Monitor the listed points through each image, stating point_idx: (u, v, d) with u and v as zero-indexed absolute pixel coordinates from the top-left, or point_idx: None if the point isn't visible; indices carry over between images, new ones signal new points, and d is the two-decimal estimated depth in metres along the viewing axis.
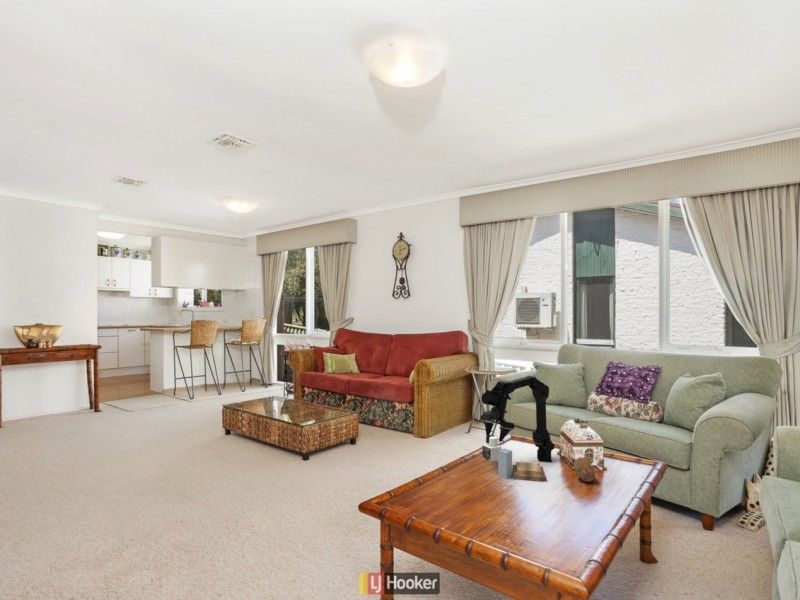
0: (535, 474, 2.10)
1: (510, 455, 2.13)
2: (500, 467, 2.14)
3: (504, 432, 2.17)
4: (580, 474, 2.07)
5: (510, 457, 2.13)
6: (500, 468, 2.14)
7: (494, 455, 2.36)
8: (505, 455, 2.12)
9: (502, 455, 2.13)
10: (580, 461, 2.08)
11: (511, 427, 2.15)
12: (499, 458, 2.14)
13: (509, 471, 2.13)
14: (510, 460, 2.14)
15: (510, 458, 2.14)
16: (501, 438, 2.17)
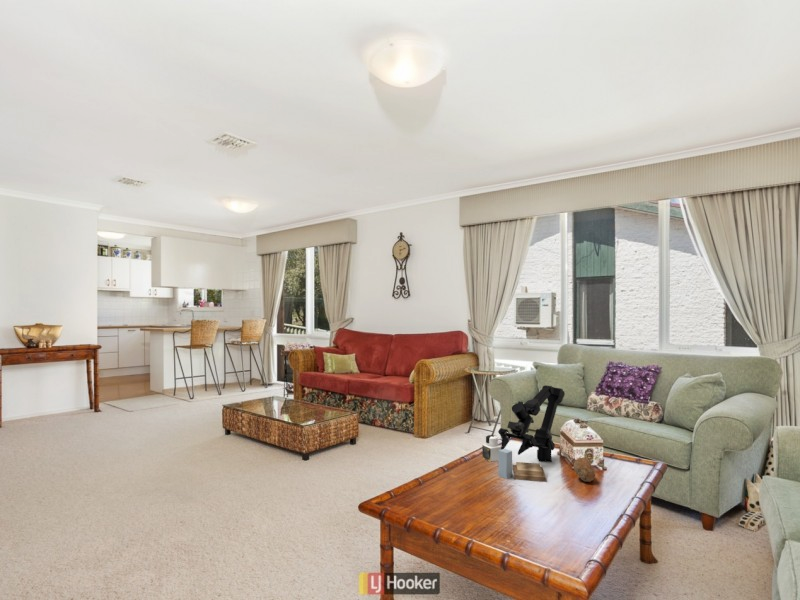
0: (535, 474, 2.10)
1: (510, 455, 2.13)
2: (500, 467, 2.14)
3: (524, 446, 2.15)
4: (580, 474, 2.07)
5: (510, 457, 2.13)
6: (500, 468, 2.14)
7: (494, 455, 2.36)
8: (505, 455, 2.12)
9: (502, 455, 2.13)
10: (580, 461, 2.08)
11: (534, 443, 2.15)
12: (499, 458, 2.14)
13: (509, 471, 2.13)
14: (510, 460, 2.14)
15: (510, 458, 2.14)
16: (520, 451, 2.14)
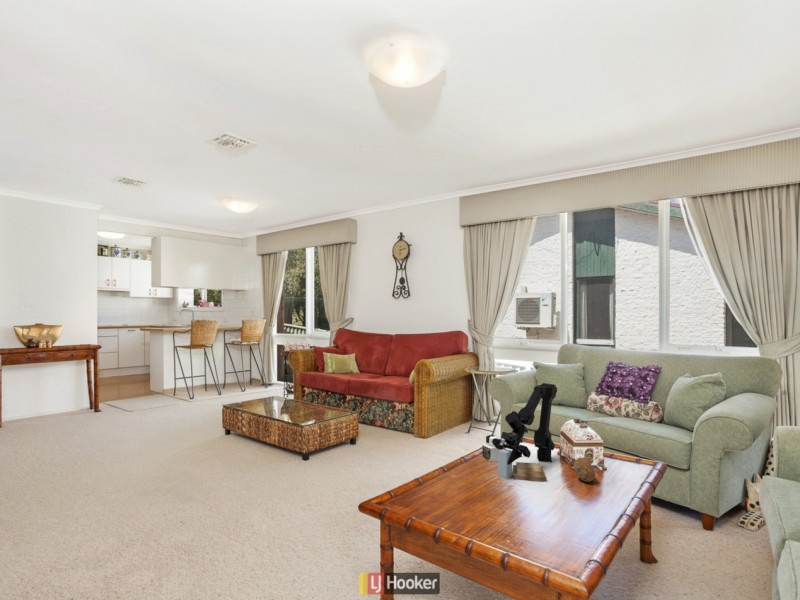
0: (535, 474, 2.10)
1: (510, 455, 2.13)
2: (500, 467, 2.14)
3: (514, 456, 2.13)
4: (580, 474, 2.07)
5: None
6: (500, 468, 2.14)
7: (494, 455, 2.36)
8: (505, 455, 2.12)
9: (502, 455, 2.13)
10: (580, 461, 2.08)
11: (528, 454, 2.11)
12: (499, 458, 2.14)
13: (509, 471, 2.13)
14: None
15: None
16: (510, 461, 2.12)
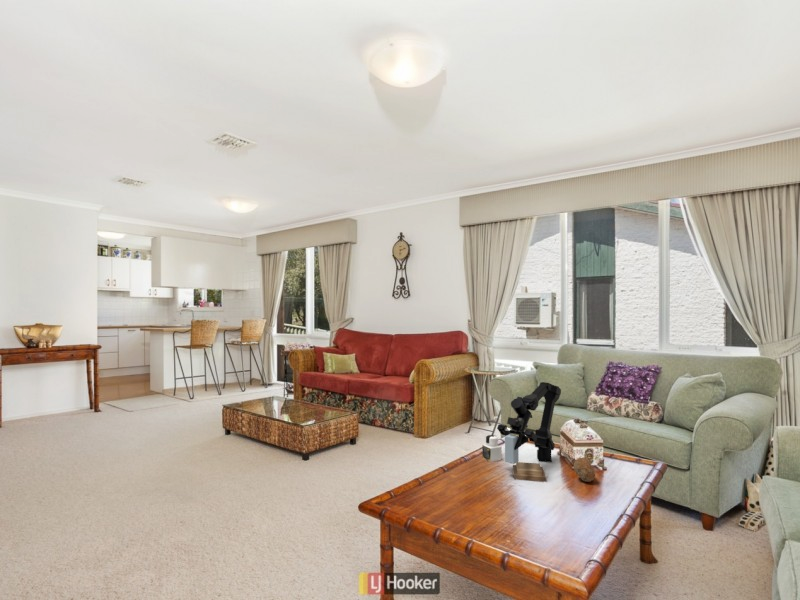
0: (535, 474, 2.10)
1: (516, 440, 2.14)
2: (507, 452, 2.14)
3: (521, 441, 2.14)
4: (580, 474, 2.07)
5: None
6: (507, 453, 2.14)
7: (494, 455, 2.36)
8: (512, 440, 2.12)
9: (508, 440, 2.13)
10: (580, 461, 2.08)
11: (534, 438, 2.12)
12: (505, 443, 2.15)
13: (516, 456, 2.14)
14: None
15: None
16: (517, 446, 2.13)
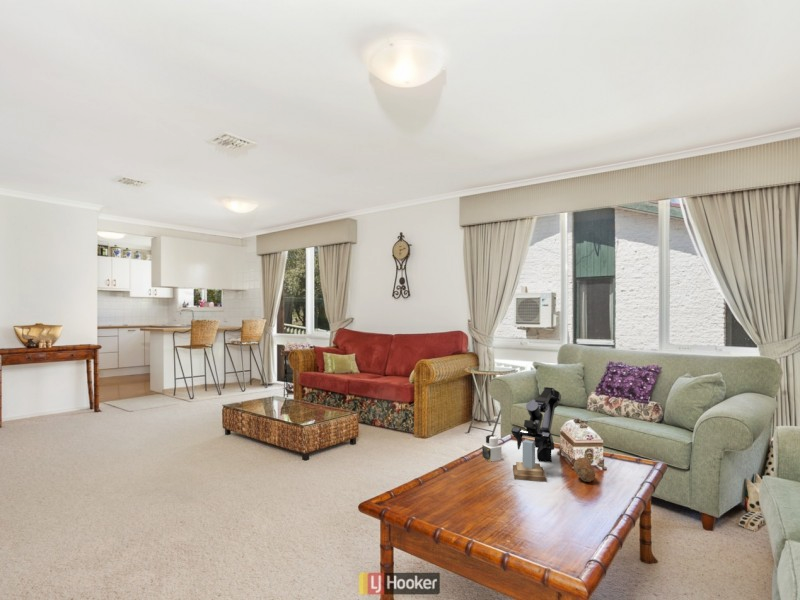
0: (535, 474, 2.10)
1: (534, 445, 2.16)
2: (525, 458, 2.15)
3: (542, 444, 2.15)
4: (580, 474, 2.07)
5: (534, 447, 2.16)
6: (525, 459, 2.15)
7: (494, 455, 2.36)
8: (530, 445, 2.14)
9: (527, 445, 2.15)
10: (580, 461, 2.08)
11: (551, 440, 2.15)
12: (523, 449, 2.16)
13: (533, 460, 2.16)
14: (534, 450, 2.16)
15: (534, 448, 2.16)
16: (539, 449, 2.13)
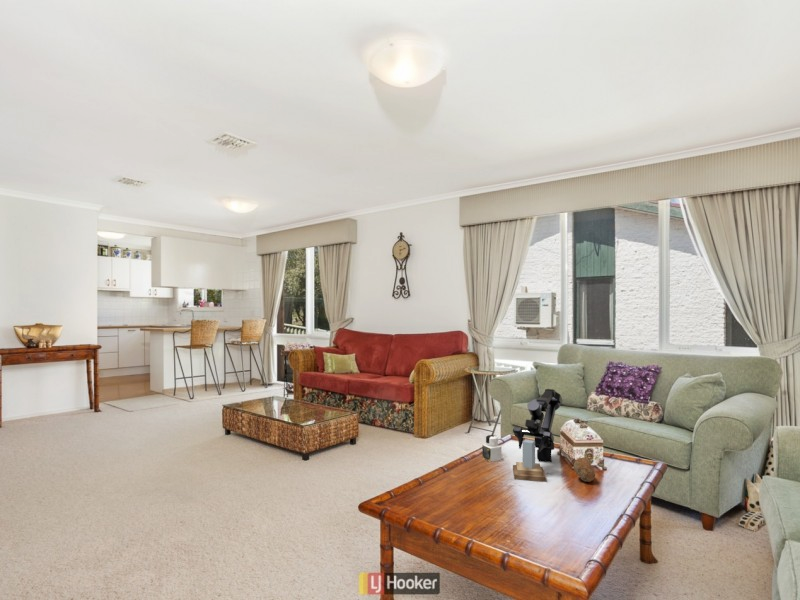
0: (535, 474, 2.10)
1: (534, 445, 2.16)
2: (525, 458, 2.15)
3: (543, 443, 2.17)
4: (580, 474, 2.07)
5: (534, 447, 2.16)
6: (525, 459, 2.15)
7: (494, 455, 2.36)
8: (530, 445, 2.14)
9: (527, 445, 2.15)
10: (580, 461, 2.08)
11: (552, 439, 2.17)
12: (523, 449, 2.16)
13: (533, 460, 2.16)
14: (534, 450, 2.16)
15: (534, 448, 2.16)
16: (540, 448, 2.15)
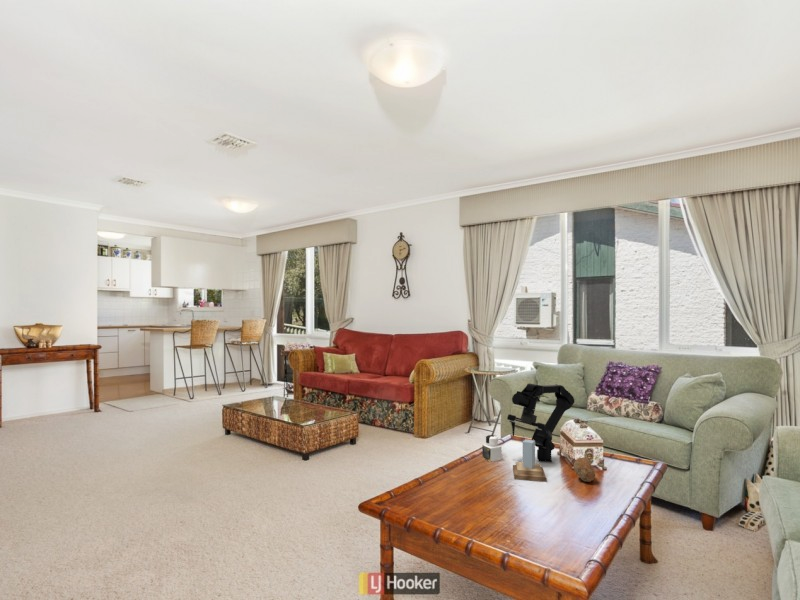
0: (535, 474, 2.10)
1: (534, 445, 2.16)
2: (525, 458, 2.15)
3: None
4: (580, 474, 2.07)
5: (534, 447, 2.16)
6: (525, 459, 2.15)
7: (494, 455, 2.36)
8: (530, 445, 2.14)
9: (527, 445, 2.15)
10: (580, 461, 2.08)
11: None
12: (523, 449, 2.16)
13: (533, 460, 2.16)
14: (534, 450, 2.16)
15: (534, 448, 2.16)
16: (533, 438, 2.29)
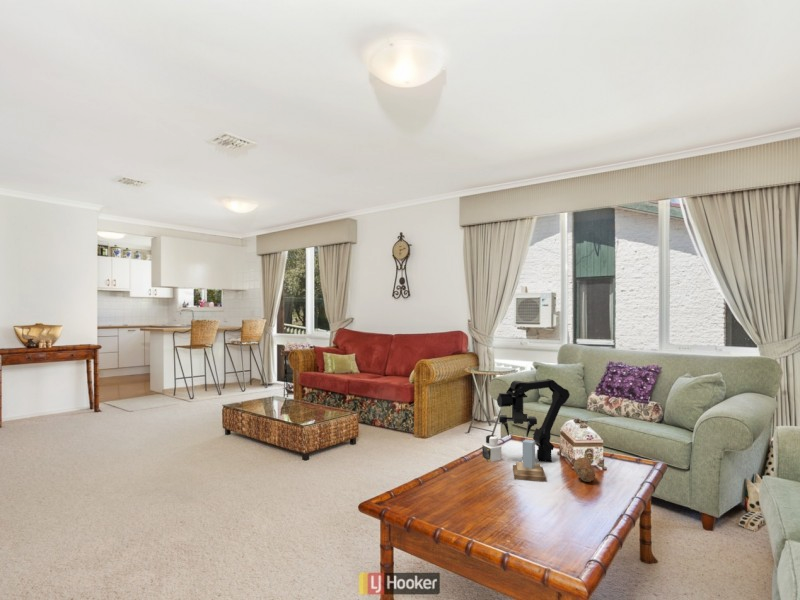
0: (535, 474, 2.10)
1: (534, 445, 2.16)
2: (525, 458, 2.15)
3: None
4: (580, 474, 2.07)
5: (534, 447, 2.16)
6: (525, 459, 2.15)
7: (494, 455, 2.36)
8: (530, 445, 2.14)
9: (527, 445, 2.15)
10: (580, 461, 2.08)
11: None
12: (523, 449, 2.16)
13: (533, 460, 2.16)
14: (534, 450, 2.16)
15: (534, 448, 2.16)
16: (528, 433, 2.34)
